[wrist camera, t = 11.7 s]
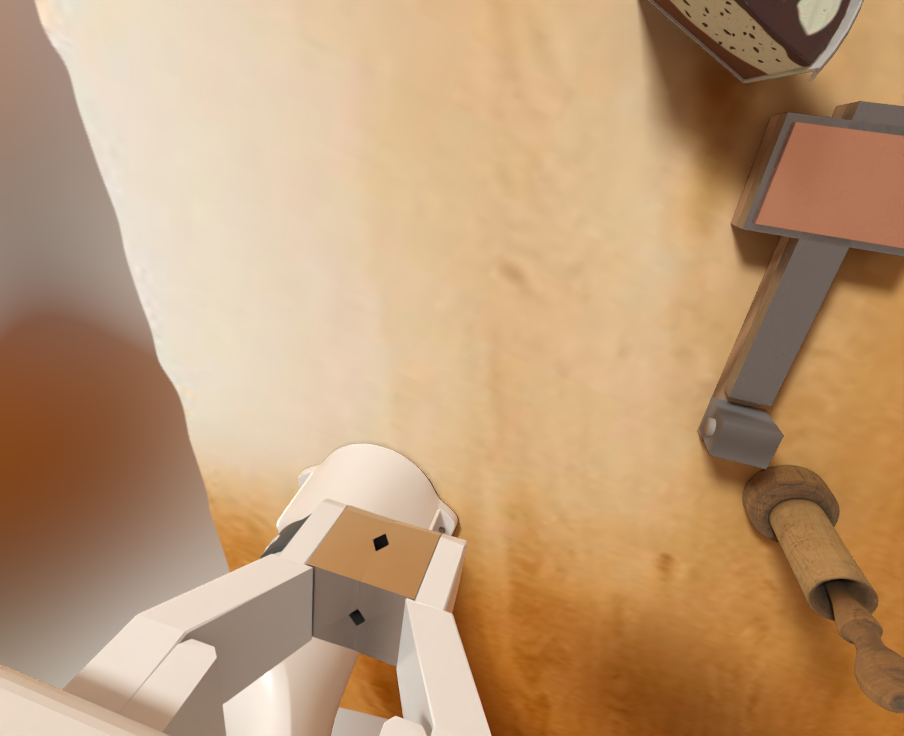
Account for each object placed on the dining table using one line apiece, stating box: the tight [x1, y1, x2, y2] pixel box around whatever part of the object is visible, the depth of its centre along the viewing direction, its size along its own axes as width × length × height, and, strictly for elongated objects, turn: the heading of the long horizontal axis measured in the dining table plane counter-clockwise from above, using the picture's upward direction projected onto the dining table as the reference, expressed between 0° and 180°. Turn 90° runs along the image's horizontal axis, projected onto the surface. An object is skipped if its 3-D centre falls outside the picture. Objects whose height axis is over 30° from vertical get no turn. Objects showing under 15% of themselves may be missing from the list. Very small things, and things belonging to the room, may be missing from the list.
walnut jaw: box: [698, 104, 848, 469], centre depth 33 cm, size 25×10×6 cm, turn 171°
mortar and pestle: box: [743, 465, 904, 713], centre depth 34 cm, size 7×6×18 cm
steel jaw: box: [724, 101, 904, 407], centre depth 33 cm, size 20×10×2 cm, turn 171°
